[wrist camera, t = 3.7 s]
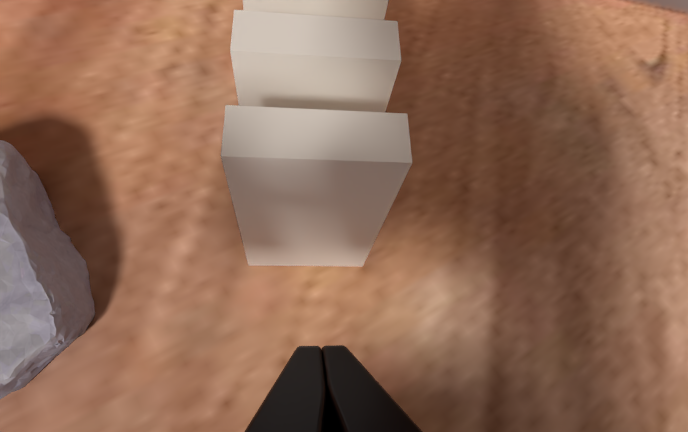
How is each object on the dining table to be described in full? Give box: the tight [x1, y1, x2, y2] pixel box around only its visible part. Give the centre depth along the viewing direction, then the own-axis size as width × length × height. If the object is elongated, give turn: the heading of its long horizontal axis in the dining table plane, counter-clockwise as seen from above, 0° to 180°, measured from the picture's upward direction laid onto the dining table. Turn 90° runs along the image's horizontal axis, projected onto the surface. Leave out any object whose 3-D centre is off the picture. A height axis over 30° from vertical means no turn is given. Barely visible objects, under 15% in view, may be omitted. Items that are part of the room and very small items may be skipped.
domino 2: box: [230, 10, 401, 113], centre depth 18 cm, size 2×5×9 cm, turn 92°
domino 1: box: [221, 105, 412, 266], centre depth 16 cm, size 2×5×9 cm, turn 91°
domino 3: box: [243, 0, 389, 20], centre depth 19 cm, size 2×5×9 cm, turn 91°
